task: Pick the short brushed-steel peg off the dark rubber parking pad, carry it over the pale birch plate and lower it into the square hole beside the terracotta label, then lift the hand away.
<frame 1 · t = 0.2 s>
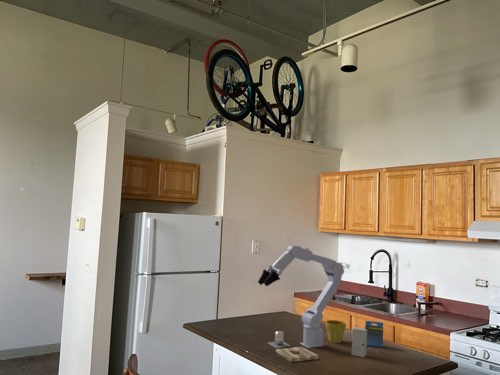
hand: (262, 284, 199), 31 cm above the kitchen island, tool tilted 45°, fingers open, 7 cm apart
skincare box: (359, 355, 194), on the kitchen island
steel peg: (279, 344, 206), resting on parking pad
hole plate: (296, 355, 190), on the kitchen island
parking pad: (279, 345, 206), on the kitchen island
label tape box: (373, 345, 212), on the kitchen island
plant pot: (335, 341, 217), on the kitchen island
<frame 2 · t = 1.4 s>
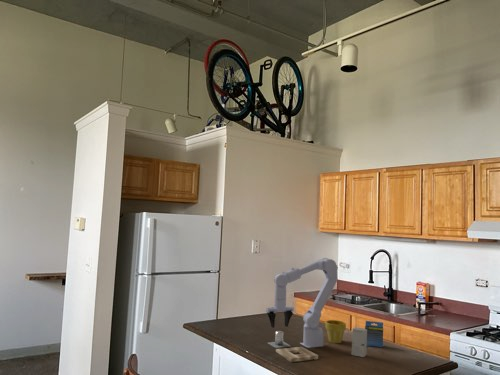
hand: (279, 326, 206), 9 cm above the kitchen island, tool pointing down, fingers open, 7 cm apart
nothing on the kitchen island moved.
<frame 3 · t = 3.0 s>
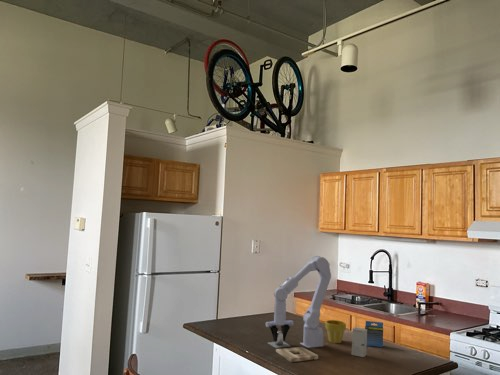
hand: (279, 340, 206), 2 cm above the kitchen island, tool pointing down, fingers closed on steel peg, 4 cm apart
steel peg: (279, 344, 206), resting on parking pad, touching gripper
everything else where it was.
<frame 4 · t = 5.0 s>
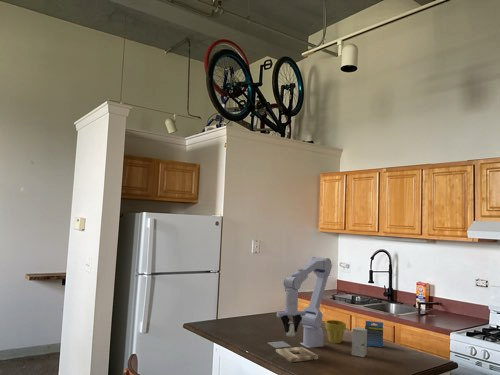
hand: (290, 331, 196), 9 cm above the kitchen island, tool pointing down, fingers closed on steel peg, 4 cm apart
steel peg: (290, 335, 196), point 7 cm above the kitchen island, touching gripper
everything else where it was.
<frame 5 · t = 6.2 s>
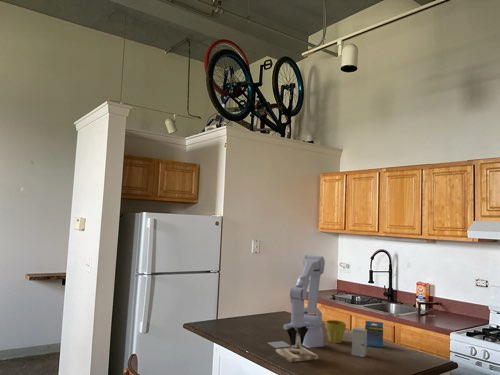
hand: (296, 344, 190), 5 cm above the kitchen island, tool pointing down, fingers closed on steel peg, 4 cm apart
steel peg: (296, 348, 190), point 3 cm above the kitchen island, touching gripper
everything else where it was.
when the fingers open (3 cm above the kitchen island, at t = 7.1 s): steel peg stays where it is, resting in hole plate.
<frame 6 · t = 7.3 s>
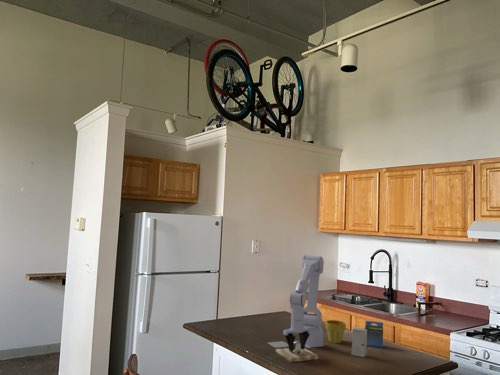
hand: (296, 349, 190), 3 cm above the kitchen island, tool pointing down, fingers open, 6 cm apart
steel peg: (296, 355, 190), resting in hole plate
everything else where it was.
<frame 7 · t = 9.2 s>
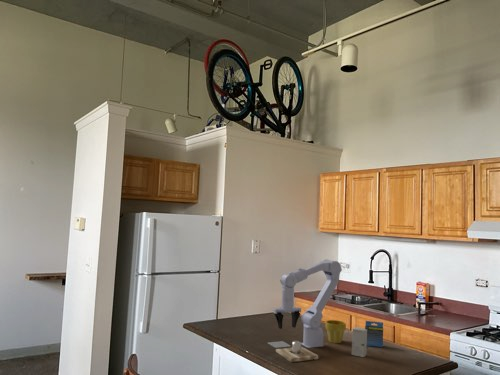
hand: (287, 327, 203), 9 cm above the kitchen island, tool pointing down, fingers open, 7 cm apart
nothing on the kitchen island moved.
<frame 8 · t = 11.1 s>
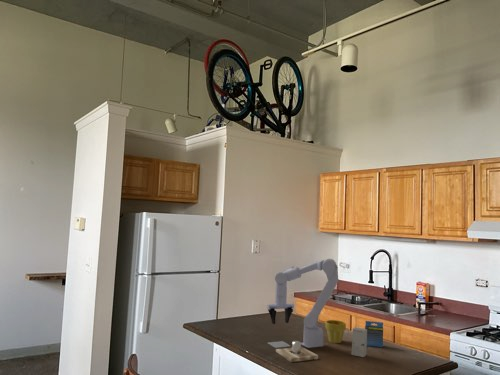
hand: (280, 323, 212), 9 cm above the kitchen island, tool pointing down, fingers open, 7 cm apart
nothing on the kitchen island moved.
at the end: steel peg 0.2 cm off-centre on the hole plate, point 0.0 cm above the hole plate's base; steel peg tilted 0°; the gripper is holding nothing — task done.
